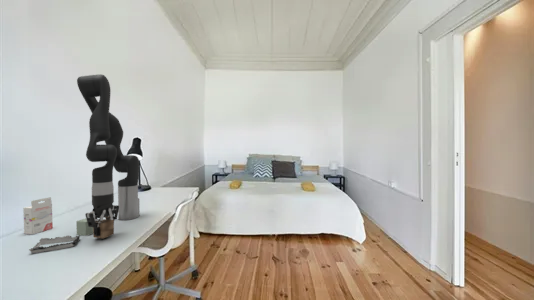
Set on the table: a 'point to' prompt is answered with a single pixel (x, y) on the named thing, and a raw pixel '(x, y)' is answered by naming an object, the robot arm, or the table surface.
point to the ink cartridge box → (38, 216)
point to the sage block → (83, 228)
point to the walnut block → (105, 228)
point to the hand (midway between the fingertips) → (103, 233)
